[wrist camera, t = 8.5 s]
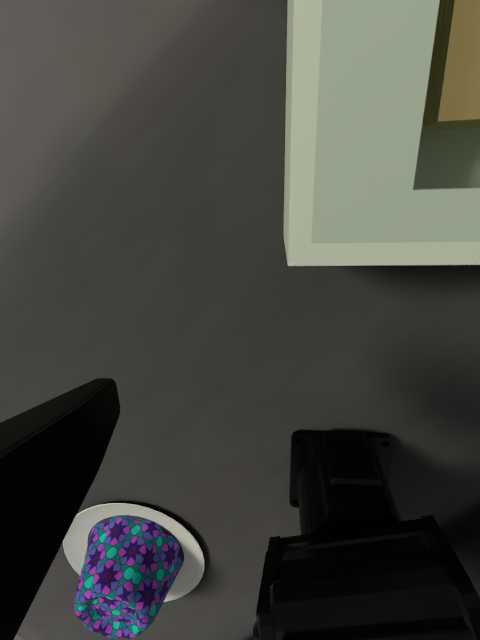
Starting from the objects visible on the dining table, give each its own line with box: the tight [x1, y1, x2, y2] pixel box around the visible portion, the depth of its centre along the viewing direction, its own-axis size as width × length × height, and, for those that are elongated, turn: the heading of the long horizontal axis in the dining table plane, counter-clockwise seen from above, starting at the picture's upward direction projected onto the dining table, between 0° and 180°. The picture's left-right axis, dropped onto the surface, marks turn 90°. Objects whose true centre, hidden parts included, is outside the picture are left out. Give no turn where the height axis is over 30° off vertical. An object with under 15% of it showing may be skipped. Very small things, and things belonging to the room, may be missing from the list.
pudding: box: [63, 503, 205, 639], centre depth 28 cm, size 12×12×5 cm
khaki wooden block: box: [421, 0, 480, 131], centre depth 14 cm, size 4×3×4 cm
